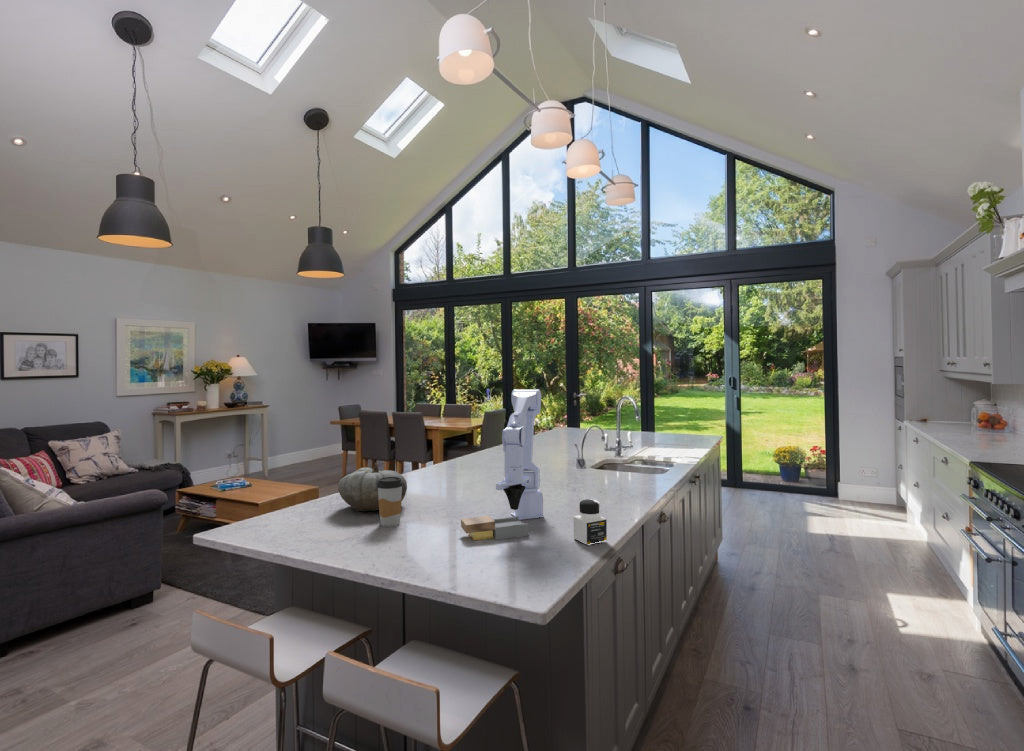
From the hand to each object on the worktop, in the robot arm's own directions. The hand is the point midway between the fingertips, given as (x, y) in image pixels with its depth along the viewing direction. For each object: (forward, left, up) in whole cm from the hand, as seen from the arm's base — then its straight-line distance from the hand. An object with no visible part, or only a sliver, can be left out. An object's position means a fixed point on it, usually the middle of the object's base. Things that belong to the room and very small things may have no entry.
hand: (514, 509), depth 172 cm
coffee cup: (+35, -24, -8) cm, 43 cm away
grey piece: (+2, 0, -7) cm, 8 cm away
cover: (+12, 0, -5) cm, 13 cm away
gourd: (+38, -48, -8) cm, 62 cm away
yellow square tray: (+11, 0, -7) cm, 13 cm away
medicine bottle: (-18, +16, -8) cm, 25 cm away
